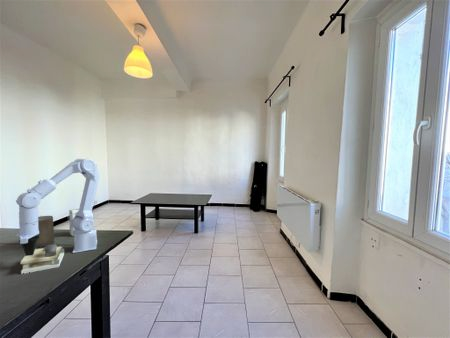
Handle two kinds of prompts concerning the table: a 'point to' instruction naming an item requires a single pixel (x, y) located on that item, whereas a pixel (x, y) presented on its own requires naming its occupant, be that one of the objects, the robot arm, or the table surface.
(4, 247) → the table surface
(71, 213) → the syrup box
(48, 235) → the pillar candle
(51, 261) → the stand
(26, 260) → the plate
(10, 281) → the table surface
